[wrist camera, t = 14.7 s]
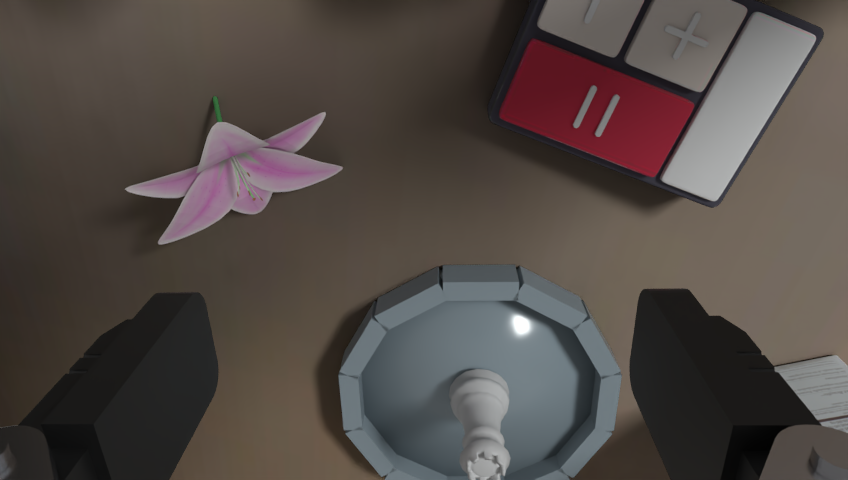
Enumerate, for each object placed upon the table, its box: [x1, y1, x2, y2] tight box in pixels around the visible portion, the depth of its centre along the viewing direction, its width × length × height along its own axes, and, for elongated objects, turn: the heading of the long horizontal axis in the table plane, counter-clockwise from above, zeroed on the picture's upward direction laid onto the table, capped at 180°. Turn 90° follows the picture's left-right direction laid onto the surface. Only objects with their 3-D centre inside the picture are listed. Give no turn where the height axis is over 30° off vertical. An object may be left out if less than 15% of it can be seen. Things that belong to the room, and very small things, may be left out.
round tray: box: [338, 265, 622, 480], centre depth 45 cm, size 20×20×2 cm
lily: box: [125, 96, 343, 245], centre depth 36 cm, size 12×12×10 cm
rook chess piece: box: [449, 369, 511, 480], centre depth 41 cm, size 4×4×8 cm
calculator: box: [488, 0, 824, 208], centre depth 35 cm, size 11×4×15 cm
